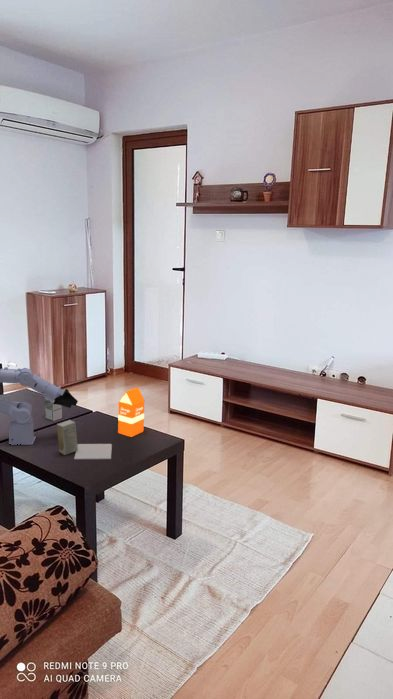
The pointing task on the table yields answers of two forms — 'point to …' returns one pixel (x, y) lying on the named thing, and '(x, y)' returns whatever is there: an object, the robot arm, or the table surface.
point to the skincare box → (67, 437)
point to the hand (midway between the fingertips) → (74, 404)
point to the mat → (93, 451)
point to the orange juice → (131, 413)
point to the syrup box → (52, 410)
